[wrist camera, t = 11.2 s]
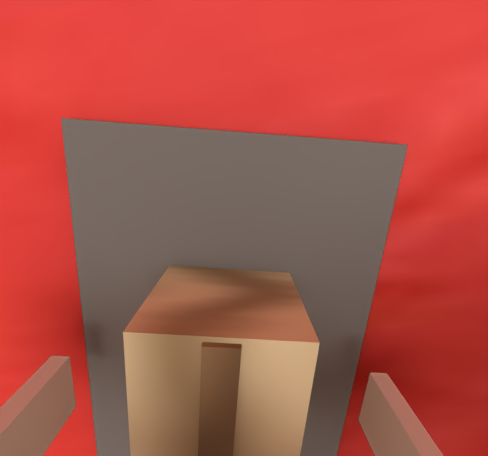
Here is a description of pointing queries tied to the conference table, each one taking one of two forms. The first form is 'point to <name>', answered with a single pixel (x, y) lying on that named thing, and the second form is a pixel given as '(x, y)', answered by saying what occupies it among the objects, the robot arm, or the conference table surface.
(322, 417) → the mat
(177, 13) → the conference table surface
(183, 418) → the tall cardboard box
